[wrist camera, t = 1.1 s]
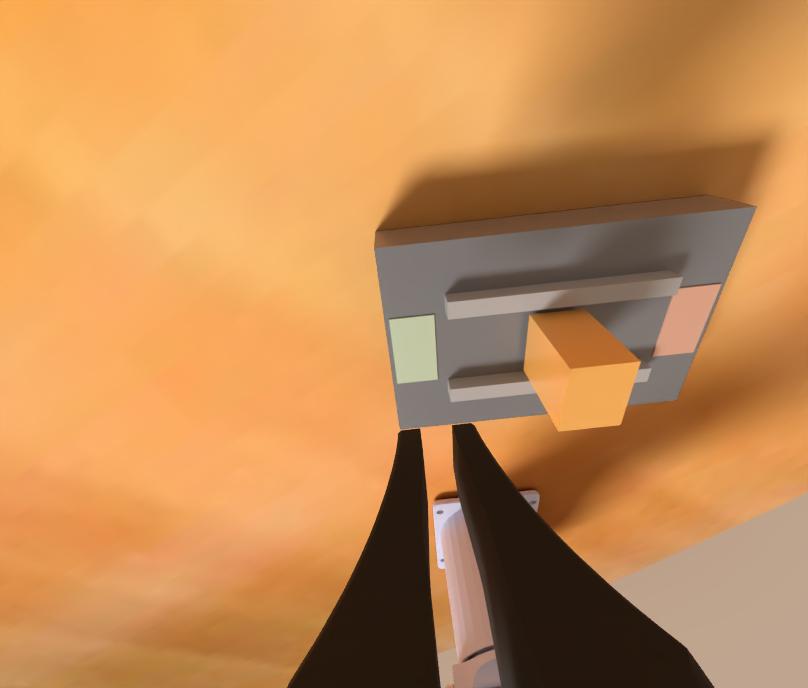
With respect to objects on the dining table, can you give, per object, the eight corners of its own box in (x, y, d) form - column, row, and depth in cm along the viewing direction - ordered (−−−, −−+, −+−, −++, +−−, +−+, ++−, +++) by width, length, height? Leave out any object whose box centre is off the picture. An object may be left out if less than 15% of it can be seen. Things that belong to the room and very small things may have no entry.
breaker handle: (573, 364, 17) (620, 425, 14) (523, 370, 17) (558, 431, 14) (584, 308, 15) (641, 361, 12) (529, 314, 15) (570, 369, 12)
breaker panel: (647, 372, 21) (686, 410, 19) (398, 398, 21) (400, 440, 19) (707, 195, 16) (776, 210, 13) (375, 231, 16) (373, 254, 13)
